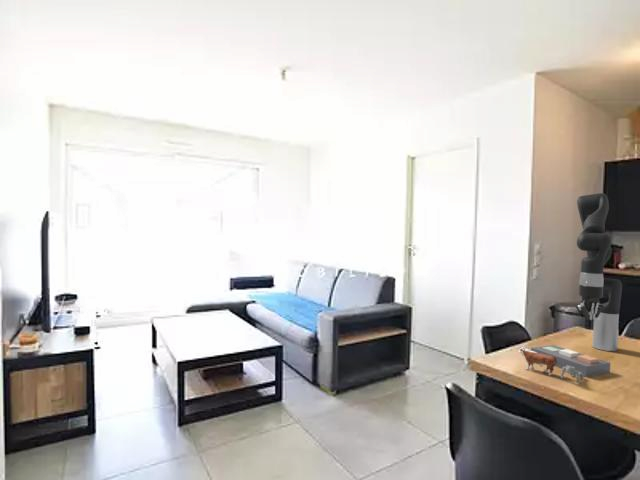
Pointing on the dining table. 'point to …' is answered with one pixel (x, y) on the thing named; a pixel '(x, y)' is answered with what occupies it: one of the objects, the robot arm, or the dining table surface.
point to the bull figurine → (538, 359)
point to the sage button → (551, 349)
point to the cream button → (568, 353)
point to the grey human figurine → (572, 373)
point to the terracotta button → (587, 359)
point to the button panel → (575, 362)
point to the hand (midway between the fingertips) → (588, 328)
